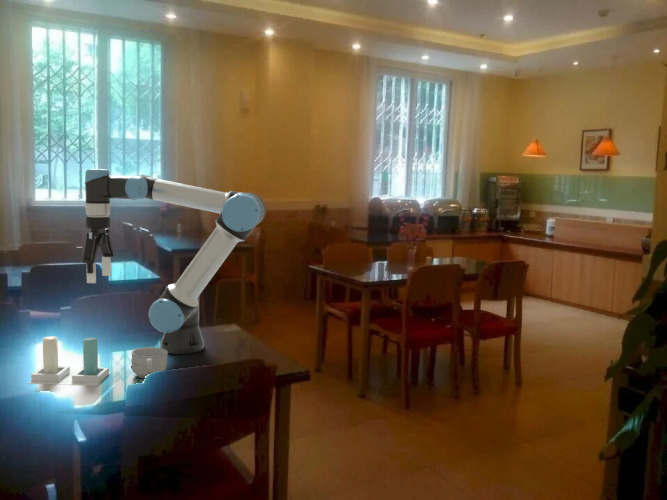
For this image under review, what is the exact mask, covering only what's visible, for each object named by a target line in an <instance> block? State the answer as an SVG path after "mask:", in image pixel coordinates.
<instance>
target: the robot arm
mask: <svg viewBox="0 0 667 500" xmlns="http://www.w3.org/2000/svg"><path fill="white" fill-rule="evenodd" d="M84 176H85V177H84V187H85V189H84V191H85V205H84V208H85V215H87V216H86V217H85V227H86V228H87V229H90V232H87V233H86V239H85V240H86V242H85V247H84V253H83V259H82V263H83V264H86V265H85V266H86V284H97V271H96V270H97V266H96V262H95V261H96V257H97V254H98V250H99V248H100V251H101V254H102V256H101V273H102V274H101V276H104V277H111V275H112V273H111V272H112V271H111V270H112V269H111V268H112V265H111V264H112V263H111V260H112V259H111V258H113V257H114V250H113V245H112V240H111V234H110V227H111V217H110V215H111V199H114V200H115V199H119V200H132V201H135V200H136V201H137V200H144V199H147V200H150V201H158V202H162V203H166V204H167V203H168V204H172V205H177V206H182V207H186V208H191V209H194V210H195V209H197V210H201V211H206V212H211V213H215V214H219V215H218V216H217V217H216V219H215V225H216V226H215V228H214V230H212V233H211V234H210V235H209V236H208V238H207V239H206V240H205V242H204V243H203V245H202V246H201V248H200V249H199V250H198V251H197V253H196V254H195V256H194V257H193V259H192V260H191V261H190V263H189V265H187V266H186V268H185V269H184V271H183V272H182V274H181V275H180V276H179V278H178V279H177V281H176V282H175V283H170V284H168V285H167V286H166V287H165V290H164V291H163V292H162V294H161V295H160V296H159V297H158V299H157V300H155V301H153V303H152V304H151V306H150V307H149V310H148V319H149V322H150V324H151V325H152V327H153V328H154V329H155V330H157V331H158V332H160V333H163V335H162V338H161V341H160V348H162V349H165V350H167V351H168V354H171V355H188V354H194V353H199V352H200V351H203V349H204V348H205V340H204V338H203V335H202V332H201V329H200V297H201V296H200V295H201V293H202V292H203V290H204V289H206V287H207V285H208V284H209V282H210V281H211V280H212V278H214V276H215V274H216V273H217V272H218V270H219V269H220V267H222V265H223V263H224V262H225V260H226V259H228V257H229V255H230V254H231V253H232V251H233V250H234V248H235V247H236V245H237V244H238V243H240V242H245V241H246V240H247V238H248V237H249V235H250V234H251V233H252V232H253V230H255V228H256V226H258V225H260V223H262V221H263V220H264V219H265V216H266V214H267V206H266V204H265V201H264V199H263V198H262V197H261V196H260V195H258V194H256V193H253V192H241V191H235V190H234V191H233V190H230V191H228V192H224V191H219V190H214V189H211V188H204V187H200V186H195V185H190V184H186V183H185V184H184V183H180V182H176V181H171V180H165V179H160V178H154V177H151V176H149V175H143V174H141V175H113V174H110V170H109V169H106V168H105V169H103V168H88V169H86V170H85V175H84Z"/></svg>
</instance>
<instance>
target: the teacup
mask: <svg viewBox="0 0 667 500" xmlns="http://www.w3.org/2000/svg"><path fill="white" fill-rule="evenodd" d="M130 353H131V371H132V372H133V373H134V374H135V375H136V376H137V377H138V378H140V379H146V378H145V376H147V375H148V374H151V373H153V372H157V371H163V370H165V371H166V369H167V364H168V363H167V362H168V354H169V353H168V351H167V350H165V349H162V348H161V347H153V346H151V347H150V346H149V347H145V346H144V347H138V348H135V349H132V351H131V352H130Z"/></svg>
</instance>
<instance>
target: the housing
mask: <svg viewBox="0 0 667 500" xmlns="http://www.w3.org/2000/svg"><path fill="white" fill-rule="evenodd" d="M111 373H112V371H110V368H109V367H99V366H98V375H84V366H82V367H81V368H80V369H79V370H71V367H70V366H64V365H63V366H62V365H58V373H57V374H44V368H43V366H42V367H40V368H39V369H37V370H36V371H35V370H34V372H33V373H31V374H30V377H31V378H30V379H31V381H29V382H28V384H32V385H33V384H35V385H37V384H38V385H63V386H64V385H68V386H70V385H71V386H95V387H96V386H98V385H99V384H100V383H101V382H102V381H103V380H104V379H106V378H107V376H109V375H110V374H111Z"/></svg>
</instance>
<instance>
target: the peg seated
mask: <svg viewBox="0 0 667 500" xmlns="http://www.w3.org/2000/svg"><path fill="white" fill-rule="evenodd" d="M42 359H43V361H42V364H43V366H42V367H43V368H44V374H57V373H58V366H59V355H58V336H45V337H42Z"/></svg>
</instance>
